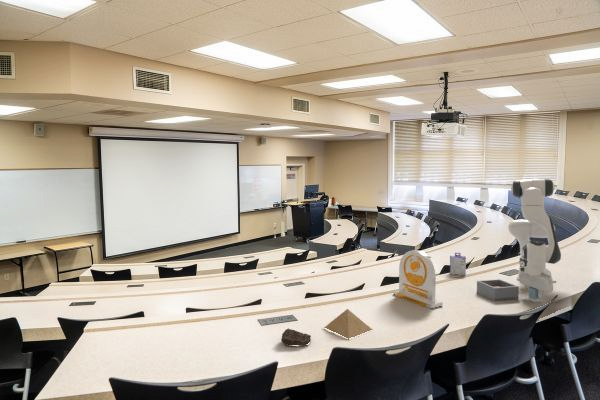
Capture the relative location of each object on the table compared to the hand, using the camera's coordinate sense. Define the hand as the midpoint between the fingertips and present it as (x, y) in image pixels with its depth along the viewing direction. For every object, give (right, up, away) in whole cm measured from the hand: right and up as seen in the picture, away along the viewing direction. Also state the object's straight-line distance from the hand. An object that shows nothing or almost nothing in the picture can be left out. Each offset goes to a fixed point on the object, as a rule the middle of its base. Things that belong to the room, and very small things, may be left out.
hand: (535, 295), depth 214 cm
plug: (0, -3, 0) cm, 3 cm away
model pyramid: (-107, -7, -37) cm, 113 cm away
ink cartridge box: (-19, +1, +57) cm, 60 cm away
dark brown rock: (-129, -7, -51) cm, 139 cm away
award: (-64, -3, +2) cm, 64 cm away
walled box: (-16, -2, +9) cm, 19 cm away
